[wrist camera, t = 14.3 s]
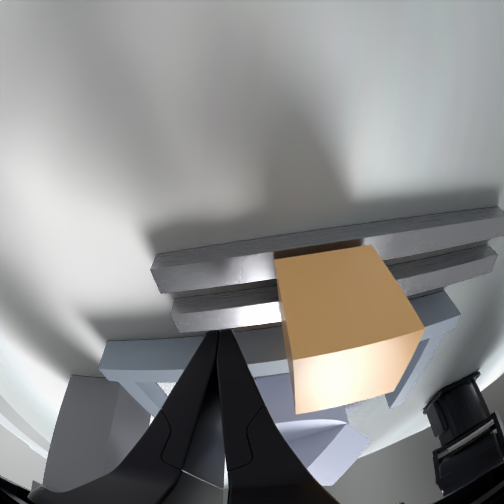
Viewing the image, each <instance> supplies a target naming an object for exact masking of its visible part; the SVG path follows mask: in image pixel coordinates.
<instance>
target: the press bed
mask: <svg viewBox="0 0 504 504" xmlns="http://www.w3.org/2000/svg"><path fill="white" fill-rule="evenodd" d="M409 302H410V303H411V305H412V307H413V308H414V310H415V312H416V313H417V315H418V317H419V318H420V320H421V322H422V324H423V325H424V327H425V330H424V333H423V335H422V337H421V339H420V342H419V344H418V346H417V348H416V350H415V352H414V354H413V356H412V358H411V360H410V362H409V364H408V366H407V368H406V370H405V372H404V374H403V375H402V377H401V379H400V381H399V383H398V384H397V386H396V388H395V390H394V391H393V392H390V393H387V394H385V397H386V400H387V403H388V406H389V409H390V408H393V407H396V406H399V405H402V403H403V402H404V401H405V399H406V398H407V396H408V395H409V393H410V392H411V390H412V389H413V387H414V386H415V384H416V383H417V381H418V380H419V378H420V376H421V375H422V373H423V372H424V370H425V368H426V367H427V365H428V363H429V362H430V360H431V358H432V356H433V355H434V353H435V351H436V349H437V347H438V346H439V344H440V342H441V340H442V338H443V336H444V334H445V332H448V331H450V330H453V329H454V328H455V326H456V324H457V322H458V320H459V318H460V316H461V314H460V312H459V311H458V309H457V308H456V306H455V305H454V303H453V302H452V301H451V299H450V298H449V296H448V295H447V294H446V292H445V291H441V292H438V293H434V294H431V295H427V296H424V297H420V298H416V299H412V300H409ZM234 335H235V337H236V340H237V342H238V344H239V347H240V349H241V351H242V354H243V356H244V358H245V361H246V363H247V365H248V367H249V370H250V372H251V374H252V376H253V377H259V376H267V375H275V374H282V373H288V372H289V367H288V361H287V355H286V349H285V343H284V337H283V331H282V326H280V327H273V328H266V329H259V330H251V331H243V332H235V333H234ZM204 337H205V336H195V337H183V338H169V339H152V340H128V341H107V344H106V347H105V350H104V353H103V356H102V359H101V362H100V365H99V368H98V369H99V371H100V372H101V373H102V374H103V375H104V376H105V377H106V378H97V377H85V376H75V375H71V378H70V381H69V384H68V387H67V390H66V393H65V396H64V399H63V402H62V405H61V408H60V412H59V415H58V418H57V422H56V425H55V429H54V433H53V437H52V441H51V445H50V449H49V453H48V458H47V463H46V468H45V473H44V478H43V484H40V483H38V482H36V481H33V483H32V489H31V491H32V490H34V489H35V488H37V487H39V486H40V485H42V486H45V487H48V488H50V489H53V490H55V491H58V492H65V491H68V490H71V489H74V488H76V487H79V486H81V485H83V484H86V483H88V482H90V481H93V480H95V479H97V478H99V477H102V476H104V475H106V474H108V473H109V472H111V471H112V470H114V469H115V468H116V467H117V466H118V465H119V464H120V463H121V462H122V460H123V459H124V458H125V457H126V456H127V454H128V453H129V452H130V451H131V449H132V448H133V447H134V446H135V444H136V443H137V442H138V441H139V440H140V438H141V437H142V436H143V434H144V433H145V432H146V430H147V429H148V427H149V423H150V417H151V415H152V416H153V417H154V418H155V417H156V415H157V414H158V412H159V410H160V409H161V407H162V406H163V404H164V402H165V401H166V399H167V395H166V394H165V393H164V392H163V391H162V389H161V388H160V387H159V386H158V385H157V383H156V382H177V381H178V379H179V378H180V376H181V374H182V373H183V371H184V370H185V368H186V366H187V365H188V363H189V361H190V360H191V358H192V356H193V355H194V353H195V351H196V350H197V348H198V347H199V345H200V343H201V342H202V340H203V338H204Z"/></svg>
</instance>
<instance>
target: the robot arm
mask: <svg viewBox="0 0 504 504" xmlns="http://www.w3.org/2000/svg"><path fill="white" fill-rule="evenodd" d="M480 375H481V374H480V372H477V373H475V374H473V375H471V376H469V377H467V378H465V379H463V380H461V381H459V382H457V383H455V384H453V385H451V386H449V387H446V388H444V389H442V390H441V391H440V392H439V393H438V394H437V396H436V397H435V398H434V399H433V400H432V402H431V403H430V404H429V405H428V406H427V407H426V409H425V410H424V411H423V414H427V416H428V419H429V422H430V424H431V427H432V430H433V433H434V436H435V437H436V438H437V437H439V440H440V443H441V446H442V447H441V448H438V449H435V450H434V451H433V452H432V453H433V461H434V468H435V475H436V484H437V485H438V486H439V488H440V490H441V491H442V492H443V493H444V497H442V498H440V499H438V500H436V501H434V502H432V503H430V504H504V426H503V423H502V421H501V418H500V416H499V414H498V412H496V411H494V412H493V413H492V414H490V412H489V410H488V407H487V405H486V403H485V401H484V398H483V397H482V394H481V392H480V390H479V388H478V386H477V384H476V382H475V381H476V379H477V378H478V377H479V376H480ZM492 421H494V424H493V425H492V426H490V427H489V428H488V429H487V430H485V431H483V432H482V433H481V434H479V435H478V436H476V437H475V438H473V439H472V440H470V441H468V442H467V443H465V444H463V445H462V446H460V447H458V448H457V449H455V450H453V451H452V452H450V453H449V451H448V450H449V449H450V448H452V447H454V446H456V445H457V444H459V443H461V442H462V441H464V440H466V439H467V438H469V437H470V436H472V435H473V434H475V433H476V432H478V431H479V430H481V429H482V428H484V427H485V426H487V425H488V424H489V423H491V422H492ZM495 431H497V432H498V433H494V432H495ZM225 457H226V465H227V471H228V484H229V491H228V501H227V504H340V503H339V502H338V501H337V500H336V499H335V498H334V497H333V496H332V495H331V494H330V493H329V492H328V491H326V489H325V488H324V487H322V485H321V484H320V483H319V482H318V481H317V480H316V479H315V478H314V477H313V476H312V475H311V473H310V472H309V471H308V470H307V469H306V467H305V466H304V465H303V463H302V462H301V461H300V459H299V458H298V457H297V455H296V454H295V453H294V451H293V450H292V449H291V447H290V446H289V444H288V443H287V442H286V440H285V439H284V437H283V436H282V434H281V433H280V431H279V430H278V428H277V426H276V425H275V423H274V421H273V419H272V417H271V415H270V413H269V411H268V409H267V407H266V405H265V403H264V401H263V398H262V396H261V394H260V392H259V390H258V388H257V385H256V383H255V381H254V379H253V376H252V374H251V372H250V370H249V367H248V365H247V363H246V361H245V358H244V356H243V354H242V351H241V349H240V347H239V344H238V342H237V340H236V337H235V335H234V333H233V330H232V329H222V330H220V331H219V330H212V331H208V332H207V333H206V335H205V337H204V338H203V340H202V342H201V343H200V345H199V347H198V348H197V350H196V351H195V353H194V355H193V356H192V358H191V360H190V361H189V363H188V365H187V366H186V368H185V370H184V371H183V373H182V374H181V376H180V378H179V379H178V381H177V383H176V384H175V386H174V388H173V389H172V391H171V392H170V394H169V396H168V397H167V399H166V401H165V402H164V404H163V406H162V407H161V409H160V410H159V412H158V414H157V415H156V417H155V418H154V420H153V421H152V423H151V424H150V426H149V427H148V429H147V430H146V432H145V433H144V434H143V436H142V437H141V438H140V440H139V441H138V442H137V443H136V444H135V446H134V447H133V448H132V449H131V451H130V452H129V453H128V454H127V456H126V457H125V458H124V459H123V460H122V462H121V463H120V464H119V465H118V466H117V467H116V468H115V469H114V470H112V471H111V472H109V473H108V474H106V475H104V476H102V477H99V478H97V479H95V480H93V481H90V482H88V483H86V484H83V485H81V486H79V487H76V488H74V489H71V490H68V491H65V492H58V491H55V490H53V489H50V488H48V487H45V486H42V485H40V486H39V487H37V488H35V489H34V490H32V491H31V490H29V489H27V488H25V487H22V486H20V485H18V484H16V483H14V482H12V481H10V480H8V479H6V478H4V477H2V476H1V475H0V504H223V487H224V465H225ZM395 504H404V503H403V502H399V503H395Z"/></svg>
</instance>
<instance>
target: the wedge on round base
mask: <svg viewBox="0 0 504 504" xmlns="http://www.w3.org/2000/svg"><path fill="white" fill-rule="evenodd" d="M254 381H255V383H256V385H257V388H258V390H259V392H260V394H261V396H262V398H263V401H264V403H265V405H266V407H267V409H268V411H269V413H270V415H271V417H272V419H273V421H274V423H275V425H276V426H277V428H278V430H279V431H280V433H281V434H282V436H283V437H284V439H285V440H286V442H287V443H288V444H289V446H290V447H291V449H292V450H293V451H294V453H295V454H296V455H297V457H298V458H299V459H300V461H301V462H302V463H303V465H304V466H305V467H306V469H307V470H308V471H309V472H310V473H311V475H312V476H313V477H314V478H315V479H316V480H317V481H318V482H319V483H320V484H321V485H333V484H334V483H335V482H336V481H337V480H338V479H339V478H340V477H341V476H342V475H343V474H344V473H345V472H346V470H347V469H348V468H349V467H350V466H351V465H352V464H353V463H354V462H355V460H356V459H357V458H358V457H359V456H360V455H361V453H362V452H363V451H364V450H365V449H366V447H367V446H368V445H369V444H370V442H371V441H372V439H370V438H369V437H367V436H365V435H364V434H362V433H361V432H359V431H358V430H356V429H355V428H353V427H352V426H350V425H349V423H348V419H347V415H346V411H345V407H344V405H342V406H338V407H334V408H329V409H324V410H319V411H314V412H308V413H302V414H296V412H295V406H294V399H293V393H292V386H291V380H290V374H283V375H275V376H268V377H264V378H259V379H255V380H254Z"/></svg>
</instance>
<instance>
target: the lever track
mask: <svg viewBox="0 0 504 504" xmlns="http://www.w3.org/2000/svg"><path fill="white" fill-rule="evenodd" d="M500 236H504V211H503V210H502V209H500V208H499V207H491V208H482V209H474V210H466V211H457V212H449V213H441V214H433V215H425V216H417V217H410V218H402V219H394V220H387V221H379V222H372V223H364V224H357V225H350V226H343V227H335V228H328V229H321V230H314V231H307V232H300V233H293V234H286V235H280V236H273V237H266V238H259V239H253V240H246V241H239V242H233V243H226V244H220V245H213V246H207V247H200V248H194V249H188V250H181V251H175V252H169V253H163V254H156V256H155V259H154V261H153V264H152V266H151V269H150V270H151V273H152V275H153V277H154V280H155V282H156V284H157V286H158V289H159V291H160V293H161V294H163V293H172V292H180V291H188V290H196V289H204V288H212V287H219V286H227V285H234V284H241V283H248V282H255V281H262V280H269V279H276V270H275V262H274V259H281V258H288V257H294V256H301V255H308V254H314V253H321V252H327V251H333V250H340V249H346V248H353V247H359V246H365V245H372V246H373V247H374V249H375V250H376V252H377V253H378V254H379V256H380V257H381V259H382V260H383V261H384V260H389V259H395V258H400V257H405V256H410V255H416V254H421V253H426V252H431V251H436V250H441V249H445V248H450V247H455V246H460V245H464V244H469V243H474V242H478V241H483V240H487V239H492V238H496V237H500ZM497 255H498V254H497V253H496V252H495V251H494V250H493V249H492V248H491V247H490V246H489V245H484V246H480V247H475V248H471V249H467V250H462V251H458V252H454V253H449V254H445V255H440V256H435V257H431V258H426V259H421V260H416V261H411V262H407V263H402V264H396V265H391V266H387V268H388V269H389V271H390V272H391V274H392V275H393V277H394V278H395V280H396V281H397V283H398V284H399V286H400V287H401V289H402V291H403V292H404V294H405V295H406V296H410V295H414V294H418V293H422V292H425V291H429V290H433V289H436V288H440V287H444V286H447V285H450V284H454V283H457V282H461V281H464V280H467V279H470V278H474V277H477V276H480V275H483V274H486V273H489V272H491V271H492V269H493V266H494V264H495V261H496V258H497ZM171 317H172V319H173V321H174V323H175V325H176V327H177V329H178V331H179V333H186V332H197V331H208V330H217V329H227V328H235V327H243V326H251V325H259V324H266V323H273V322H280V321H281V314H280V305H279V296H278V287H277V285H275V286H268V287H261V288H254V289H247V290H240V291H232V292H225V293H217V294H209V295H201V296H193V297H185V298H176V299H174V302H173V306H172V311H171Z"/></svg>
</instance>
